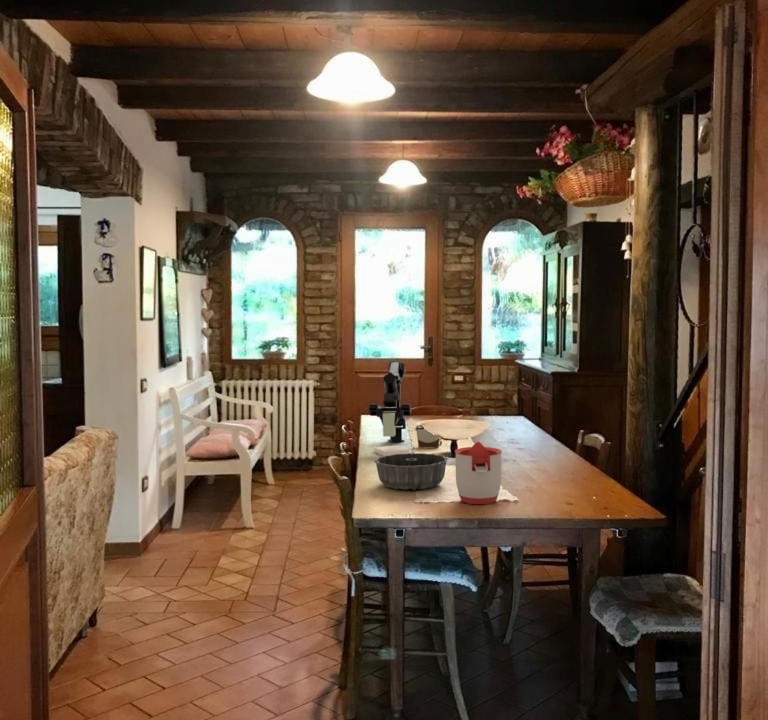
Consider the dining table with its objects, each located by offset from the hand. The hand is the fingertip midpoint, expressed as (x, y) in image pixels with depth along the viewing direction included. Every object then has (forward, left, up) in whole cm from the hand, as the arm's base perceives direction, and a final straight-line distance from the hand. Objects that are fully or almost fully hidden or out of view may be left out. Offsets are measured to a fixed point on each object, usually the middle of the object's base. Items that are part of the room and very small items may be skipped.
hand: (388, 424), depth 348 cm
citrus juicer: (+94, -7, -13) cm, 95 cm away
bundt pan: (+62, -17, -13) cm, 66 cm away
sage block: (-1, +1, -5) cm, 5 cm away
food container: (-8, +24, -13) cm, 28 cm away
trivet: (-1, +2, -13) cm, 13 cm away
